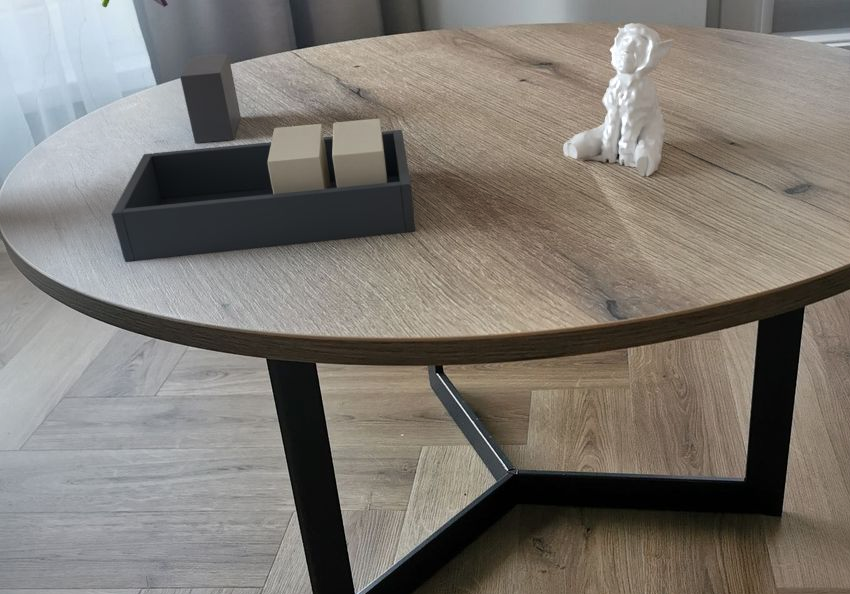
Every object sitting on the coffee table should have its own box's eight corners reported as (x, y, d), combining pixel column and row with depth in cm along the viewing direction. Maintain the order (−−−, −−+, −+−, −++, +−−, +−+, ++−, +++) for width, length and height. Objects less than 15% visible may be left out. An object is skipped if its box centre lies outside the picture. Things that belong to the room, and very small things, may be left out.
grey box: (194, 143, 100) (179, 76, 96) (204, 120, 107) (190, 56, 103) (233, 139, 100) (220, 72, 97) (240, 117, 107) (228, 53, 104)
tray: (126, 268, 74) (111, 213, 72) (156, 203, 86) (143, 153, 84) (416, 238, 76) (410, 183, 74) (407, 178, 88) (401, 129, 86)
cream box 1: (280, 232, 77) (267, 161, 74) (286, 194, 85) (274, 127, 82) (330, 227, 78) (319, 156, 75) (331, 189, 85) (321, 123, 82)
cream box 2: (342, 226, 78) (332, 155, 75) (342, 188, 85) (333, 122, 82) (391, 221, 78) (383, 150, 75) (387, 183, 85) (380, 117, 82)
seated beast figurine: (559, 162, 90) (557, 30, 83) (604, 134, 96) (605, 9, 89) (651, 179, 85) (655, 40, 79) (692, 149, 91) (700, 18, 85)
